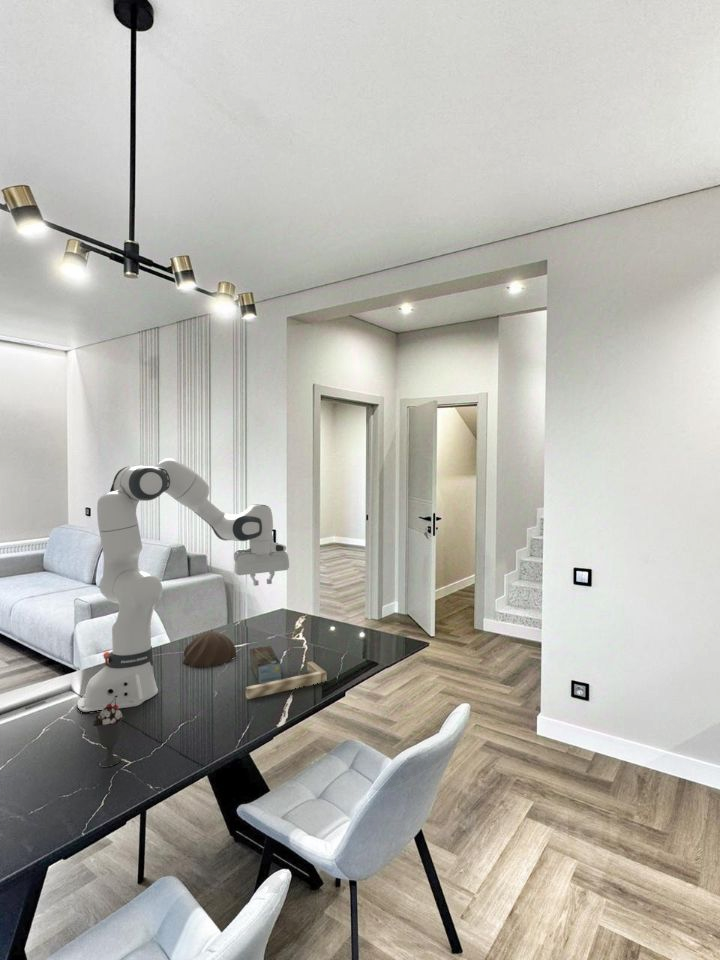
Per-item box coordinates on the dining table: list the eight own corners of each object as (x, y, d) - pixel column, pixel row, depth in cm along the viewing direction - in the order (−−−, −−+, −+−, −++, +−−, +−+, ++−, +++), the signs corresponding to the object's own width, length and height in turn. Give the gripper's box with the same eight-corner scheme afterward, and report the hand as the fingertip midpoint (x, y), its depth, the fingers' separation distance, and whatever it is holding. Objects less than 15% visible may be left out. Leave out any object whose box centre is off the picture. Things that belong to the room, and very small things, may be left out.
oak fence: (247, 699, 157) (247, 689, 157) (237, 685, 168) (237, 676, 168) (326, 681, 169) (326, 672, 169) (312, 670, 180) (312, 661, 180)
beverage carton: (257, 684, 169) (257, 664, 169) (249, 665, 187) (249, 647, 187) (282, 681, 171) (281, 660, 171) (271, 662, 189) (271, 644, 189)
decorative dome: (225, 668, 185) (224, 639, 185) (172, 667, 188) (171, 639, 188) (244, 650, 204) (244, 624, 204) (196, 649, 207) (196, 624, 207)
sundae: (130, 753, 127) (128, 692, 127) (118, 769, 120) (116, 703, 120) (102, 755, 127) (101, 693, 127) (89, 770, 120) (87, 705, 120)
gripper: (236, 550, 187) (237, 589, 187) (290, 546, 196) (291, 582, 196) (231, 549, 193) (232, 586, 192) (284, 544, 202) (285, 580, 202)
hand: (262, 584), depth 195 cm, fingers open, 4 cm apart
